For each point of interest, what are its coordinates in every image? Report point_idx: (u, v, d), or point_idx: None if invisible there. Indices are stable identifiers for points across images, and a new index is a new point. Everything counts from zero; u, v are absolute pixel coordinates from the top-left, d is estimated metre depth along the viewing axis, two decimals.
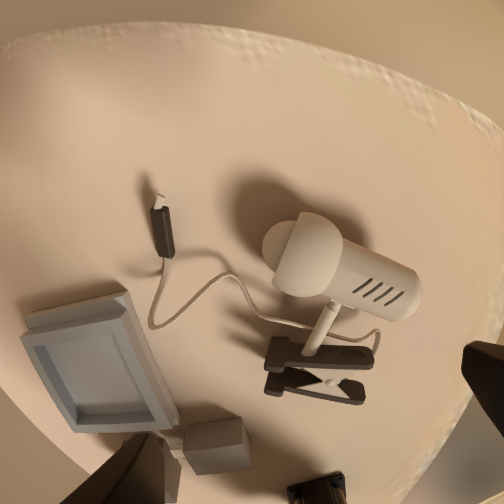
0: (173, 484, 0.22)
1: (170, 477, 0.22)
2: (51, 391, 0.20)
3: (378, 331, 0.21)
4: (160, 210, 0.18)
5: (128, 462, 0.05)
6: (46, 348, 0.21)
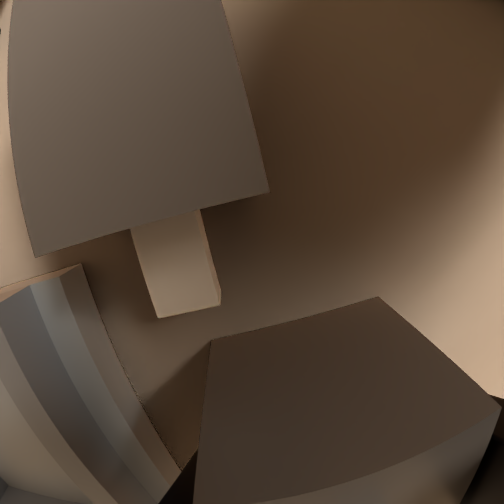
0: (397, 383, 0.04)
1: (343, 387, 0.05)
2: None
3: None
4: None
5: None
6: (19, 489, 0.08)
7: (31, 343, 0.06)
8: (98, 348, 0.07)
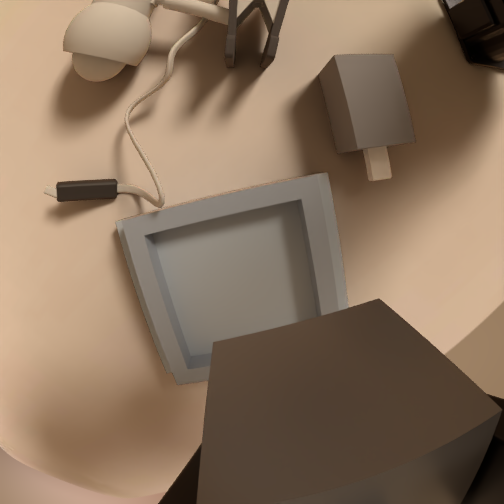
0: (398, 386, 0.04)
1: (344, 389, 0.05)
2: None
3: None
4: (57, 189, 0.15)
5: None
6: (205, 354, 0.18)
7: None
8: None
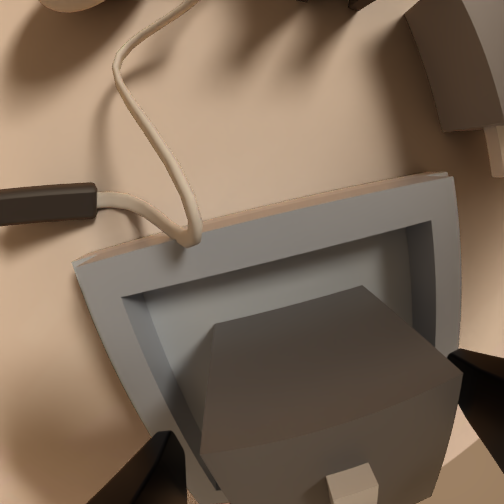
0: (372, 353, 0.06)
1: (326, 357, 0.06)
2: None
3: None
4: None
5: (152, 462, 0.05)
6: None
7: None
8: None
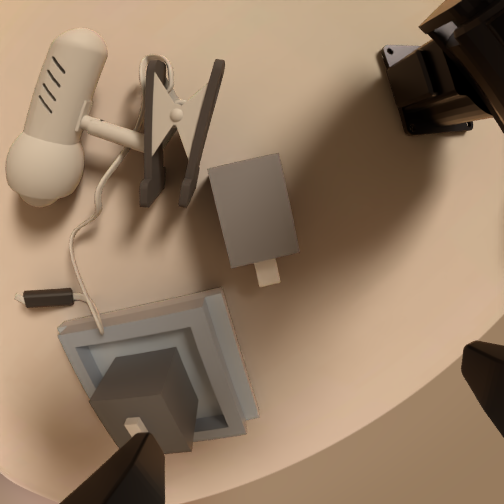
0: (147, 379, 0.15)
1: (135, 377, 0.16)
2: None
3: (145, 58, 0.14)
4: (24, 298, 0.17)
5: (128, 462, 0.05)
6: None
7: (209, 320, 0.18)
8: (230, 321, 0.19)
